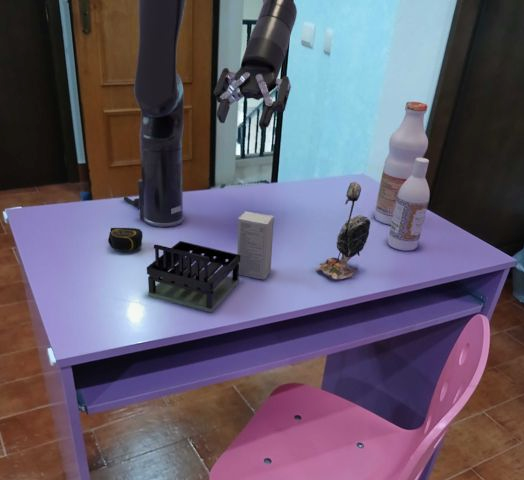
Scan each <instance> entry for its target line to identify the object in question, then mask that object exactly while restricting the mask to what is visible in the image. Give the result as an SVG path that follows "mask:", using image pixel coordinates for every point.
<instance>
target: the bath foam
mask: <svg viewBox="0 0 524 480" xmlns="http://www.w3.org/2000/svg"><path fill="white" fill-rule="evenodd" d="M429 163H430V160H429V159H428V158H425V157H423V158H416V159H415V163H414V167H413V172H412V175H411V176H410V177H409V178H408V179H407V180H406V181H405V182H404V184H403V185H402V186H401V188H400V190H399V193H398V196H397V201H396V205H395V210H394V214H393V219H392V223H391V225H390V230H389V232H388V233H389V234H388V238H387V244H388V245H389V246H390V247H391V248H393V249H396V250H398V251H404V252H409V251H414V250H416V249H417V247H418V245H419V241H420V238H421V233H422V229H423V225H424V221H425V218H426V214H427V211H428V206H429V203H430V196H431V192H430V187H429V184H428V181H427V179H426V175H427V171H428V167H429Z"/></svg>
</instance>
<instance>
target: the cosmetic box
mask: <svg viewBox="0 0 524 480" xmlns="http://www.w3.org/2000/svg"><path fill="white" fill-rule="evenodd" d="M274 223H275V216H274V215H270V214H264V213H259V212H252V211H247V210H245V211H244V212H243V213H242V214H241V215H240V216H238V217H237V248H236V249H237V251H236V254H238V255H241V256H240V262H239V263H238V264H239V276H244V277H247V278H248V277H249V278H253V279H256V280H257V279H258V280H263V281H265V280H266V279H267V277H268V276H269V275H270V273H271V269H272V253H273V243H274V242H273V241H274V240H273V239H274Z"/></svg>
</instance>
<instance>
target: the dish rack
mask: <svg viewBox="0 0 524 480" xmlns="http://www.w3.org/2000/svg"><path fill="white" fill-rule="evenodd" d="M153 249H154V255H155V257H154V258H155V260H154V261H152V263H150V264H149V265H147V266H146V275H148V277H147V283H148V293H147V296H148V297H150V298H154V299H158V300H162V301H165V302H168V303H173V304H176V305H180V306H183V307H187V308H190V309H191V308H192V309H195V310H199V311H202V312H206V313H210V314H212V313H213V312H214V311H215V310H216V309H217V307H219V305H220V304H221V303H222V302H223V301H225V299H226V298H227V297H228V295H229V294H230V293H232V291H233V290H234V289H235V288H236V286H237V285H238V284H240V275H239V264H238V263H239V262H240V256H241V255H238V254H237V253H234V252H229V251H226V250H220V249H217V248H212V247H208V246H205V245H199V244H195V243H191V242H187V241H183V240H179V241H178V242H177V243H175V244H174V245H173V246H172V247H168V246H164V245H161V244H154V245H153ZM160 251H162V254H161V256H160ZM231 273H232V276H229V274H231ZM156 283H157V284H156Z"/></svg>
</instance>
